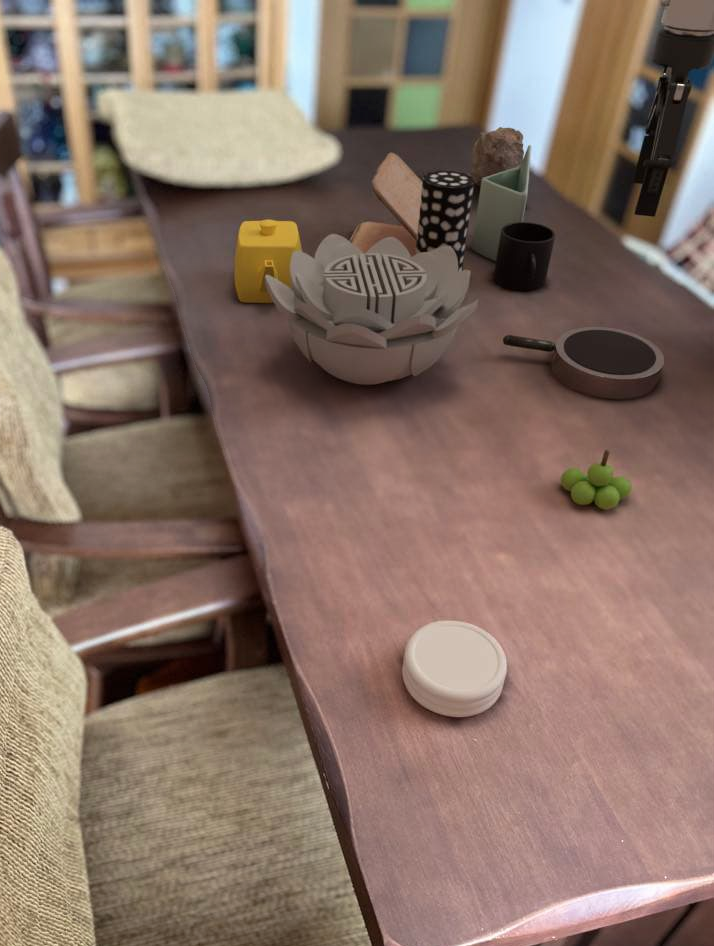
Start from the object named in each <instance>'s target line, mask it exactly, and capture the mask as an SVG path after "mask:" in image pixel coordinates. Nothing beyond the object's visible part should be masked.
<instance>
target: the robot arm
mask: <svg viewBox="0 0 714 946" xmlns="http://www.w3.org/2000/svg"><path fill="white" fill-rule="evenodd" d="M659 4H660V6H661V7H664V9H663V14H662V16H661V20H660V23H661V25H662V26H663V27H662V28H660V29H659V30H658V31H657V34H656V39H655V43H654V46H653V50H652V54H651V61H652V62H653V63H654V64H655V65H657V66H660V67H662V68H663V69H662V71H661V76H659V77H658V80H657V84H656V90H655V94H654V98H653V101H652V104H651V107H650V111H649V113H648V116H647V118H646V120H645V125H646V127H645V130H644V132H645V135H644V136H643V140H642V144H641V146H640V147H641V148H640V151H639V155H638V158H637V162H636V166H635V170H634V174H633V177H632V184H638V185H639V184H640V185H641V187H640V192H639V195H638V198H637V202H636V206H635V209H634V216H644V217H653V218H654V217H656V213H657V210H658V207H659V204H660V200H661V196H662V193H663V191H664V186H665V183H666V179H667V176H668V173H669V169H671V168H672V167H673V165H674V158H675V154H676V150H677V145H678V141H679V136H680V132H681V129H682V123H683V119H684V114H685V111H686V106H687V102H688V98H689V96H690V94H691V91H692V82H691V78H689V77H690V73H691V72H692V71H693V70H703V69H706V68H708V67H710V65H711V64H712V63H713V59H714V0H660V3H659Z"/></svg>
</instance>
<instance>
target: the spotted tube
mask: <svg viewBox="0 0 714 946" xmlns="http://www.w3.org/2000/svg"><path fill="white" fill-rule="evenodd" d="M422 183H423V184H422V194H421V204H420V214H419V223H418V233H417V243H416V253H415V255H416V254H418V253H422V252H430V251H432V250H434V249H436V248H438V247H442V246H451V247H452V248H453V249H454V251H455V253H456V256H457V260H458V272H460V271H463V266H464V258H465V253H466V252H465V251H466V246H467V245H466V244H467V238H468V230H469V224H470V215H471V210H472V209H471V208H472V202H473V194H474V188H475V180H474V178H473V177H472V175H471V174H468V173H465V172H461V171H457V170H445V169H444V170H434V171H429V172H427V173H425V174H424V175H423V177H422Z"/></svg>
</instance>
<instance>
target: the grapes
mask: <svg viewBox="0 0 714 946" xmlns="http://www.w3.org/2000/svg"><path fill="white" fill-rule="evenodd" d="M610 453H611V451H610V450H609V449H606V450H604V452H603V455H602V458H601V461H598V462H594V463H593V464H591V466H590V467H589V468H588V470H587V475H585V473H584V471H582V470H581V469H580V468H577V467H570V468H567V469H566V470H564V472H562V474H561V477H560V483H561V486H562V488H563V489H565V491H568V492H570V498H571V499H572V501H573V502H574V503H576V504H577V505H579V506H587V505H590V504H592V503H593V502H594V504H595V505H596V506H597V507H598V508H599V509H601V510H606V511H607V510H608V511H609V510H612V509H614V508H615V507H616V506H617V505H618V504H619V502H620V501H623V500H625V499H627V498H629V496H630V494H631V493H632V488H633V487H632V486H633V485H632V483H631V481H630V480H629V479H628V478H627V477H625V476H621V475H620V476H619V475H618V476H614V470H613V468H612V466H611V465H609V464H608V459H609V456H610Z"/></svg>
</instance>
